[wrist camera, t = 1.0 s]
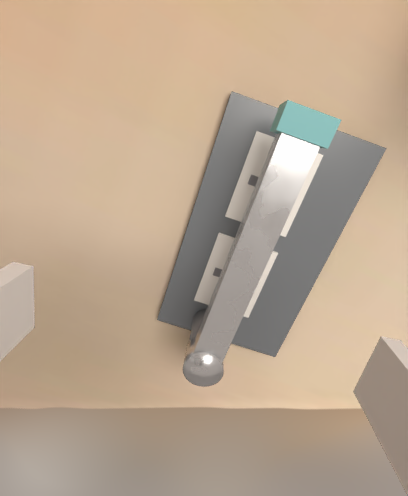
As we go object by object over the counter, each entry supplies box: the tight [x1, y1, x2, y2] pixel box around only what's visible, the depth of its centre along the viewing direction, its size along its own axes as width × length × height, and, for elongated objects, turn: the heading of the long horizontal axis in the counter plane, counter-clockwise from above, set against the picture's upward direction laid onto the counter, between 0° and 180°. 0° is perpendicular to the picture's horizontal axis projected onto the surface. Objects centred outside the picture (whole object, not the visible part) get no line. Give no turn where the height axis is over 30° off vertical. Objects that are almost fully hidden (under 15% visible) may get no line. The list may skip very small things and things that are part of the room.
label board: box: [157, 92, 386, 357], centre depth 31 cm, size 16×27×6 cm, turn 161°
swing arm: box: [183, 100, 341, 387], centre depth 26 cm, size 26×4×3 cm, turn 162°
